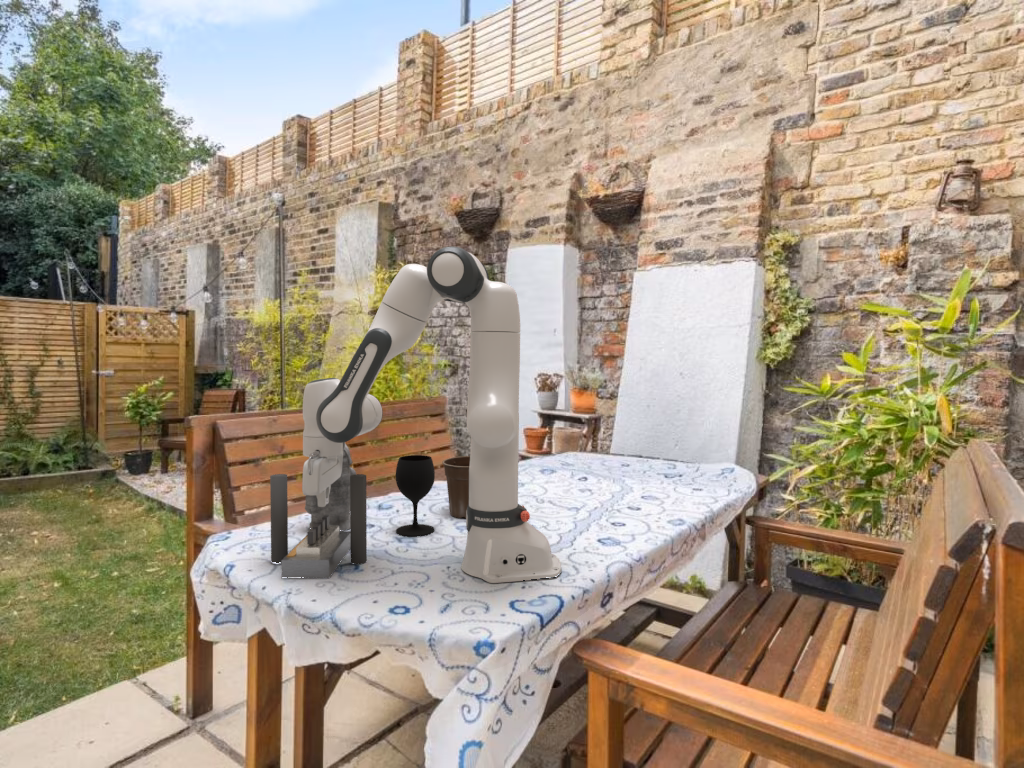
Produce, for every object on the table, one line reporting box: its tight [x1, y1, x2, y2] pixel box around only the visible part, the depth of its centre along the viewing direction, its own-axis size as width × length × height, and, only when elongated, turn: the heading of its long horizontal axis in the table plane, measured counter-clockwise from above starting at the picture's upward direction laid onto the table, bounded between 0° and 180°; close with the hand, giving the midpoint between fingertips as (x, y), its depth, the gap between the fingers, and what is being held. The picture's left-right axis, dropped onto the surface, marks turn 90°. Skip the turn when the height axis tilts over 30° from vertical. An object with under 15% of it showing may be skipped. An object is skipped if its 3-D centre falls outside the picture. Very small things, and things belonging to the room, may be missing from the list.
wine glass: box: [395, 454, 436, 538], centre depth 157 cm, size 10×10×20 cm
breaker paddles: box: [306, 515, 329, 544], centre depth 133 cm, size 1×13×3 cm, turn 2°
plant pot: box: [441, 455, 470, 519], centre depth 174 cm, size 16×16×16 cm
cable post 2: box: [349, 473, 368, 565], centre depth 134 cm, size 4×4×20 cm
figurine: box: [304, 443, 357, 531], centre depth 159 cm, size 10×14×25 cm
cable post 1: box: [269, 473, 289, 563], centre depth 133 cm, size 4×4×20 cm
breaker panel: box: [280, 526, 350, 579], centre depth 134 cm, size 10×20×6 cm, turn 2°
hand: (323, 505), depth 137 cm, fingers closed
